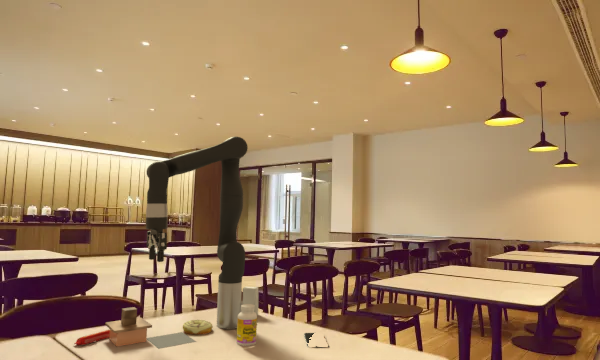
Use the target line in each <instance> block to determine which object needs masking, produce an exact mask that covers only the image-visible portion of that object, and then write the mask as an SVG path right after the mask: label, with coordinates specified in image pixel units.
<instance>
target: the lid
mask: <svg viewBox="0 0 600 360" xmlns="http://www.w3.org/2000/svg"><path fill="white" fill-rule="evenodd" d="M137 314H138V308H136V307H135V306H134V307H133V306H132V307H131V306H130V307H125V308H121V317H120V319H121V320H120V319H119V320H115V321H113V320H112V321H106V322H105V326H106V328H108V330H109V329H110V330H111V331H112V332H113V333H120V332H127V331H133V330H140V329H146V328H147V329H151V328H153V324H152V323H150V322H148V321H147V320H146V319H144V318H143V317H138V315H137Z"/></svg>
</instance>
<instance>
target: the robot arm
mask: <svg viewBox="0 0 600 360" xmlns="http://www.w3.org/2000/svg"><path fill="white" fill-rule="evenodd" d="M248 149H249V148H248V143H247V142H246V140H245V139H244V138H243V137H241V136H231V137H229V138H227V139H225V140H224V141H222V142H221V143H218V144H216V145H213V146H209V147H207V148H202V149H198V150H194V151H190V152H186V153H184V154H179V155H176V156H174V157H172V158H170V159H166V160H162V161H157V160H156V161H154V162H152V163H151V164H150V165H148V167H147V169H146V177H148V189H147V193H146V210H145V229H146V230H148V231H147V232H146V248H148V259H149V260H150V261H152V260H156V261H157V262H158V263H162V262H163V263H164V261H165V251H166V250H167V249H168V245H167V244H168V239H167V237H168V235H167V234H168V233H167V232H164V231H163V230H167V229H168V222H169V221H168V218H169V216H168V214H169V212H168V211H169V210H168V186H169V179H170V178H171V177H174V176H178V175H181V174H186V173H189V172H193V171H196V170H198V169H202V168H203V167H206V166H209V165H211V164H214V163H217V162H221V163H220V164H221V179H220V180H221V181H220V194H219V195H220V196H219V235H218V242H217V248H216V249H217V250H216V254H217V257H218V259H219V260H220V262H222V267H221V268H222V269H221V273H219V274H218V279H217V280H218V283H217V285H218V286H217V303H216V304H217V309H216V327H217V328H220V329H222V330H234V329H237V322H238V314H239V313H240V312H241V311H242V310H241V305H243V300H242V294H243V288H242V287H243V276H244V273H245V264H246V263H245V262H246V251H245V247H244V246H243V244H242V243H241V242H238V234H237V233H238V232H237V231H238V226H239V225H238V224H239V223H240V219H241V217H242V212H243V207H244V191H243V190H244V189H243V184H242V180H241V177H240V159H242V158H243V157H245V156H246V154H247V152H248ZM156 250H157V251H156Z"/></svg>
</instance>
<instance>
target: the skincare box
mask: <svg viewBox="0 0 600 360" xmlns="http://www.w3.org/2000/svg"><path fill="white" fill-rule="evenodd" d="M242 301H243V304H253V305H255V309H254V312H255V313H256V314H257V316H258V315H259V286H246V285H245V286H244V287H243V288H242Z"/></svg>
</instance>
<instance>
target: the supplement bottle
mask: <svg viewBox="0 0 600 360" xmlns="http://www.w3.org/2000/svg"><path fill="white" fill-rule="evenodd" d="M254 309H255V305H253V304H243V305H241V310H242V311H241V312H240V313H239V314H238V322H237V328H236V344H237V345H239V346H242V347H243V346H244V347H245V346H246V347H248V346H253V345H256V343H257V328H258V327H257V325H258V315H257V314H256V313H255V312H254Z"/></svg>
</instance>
